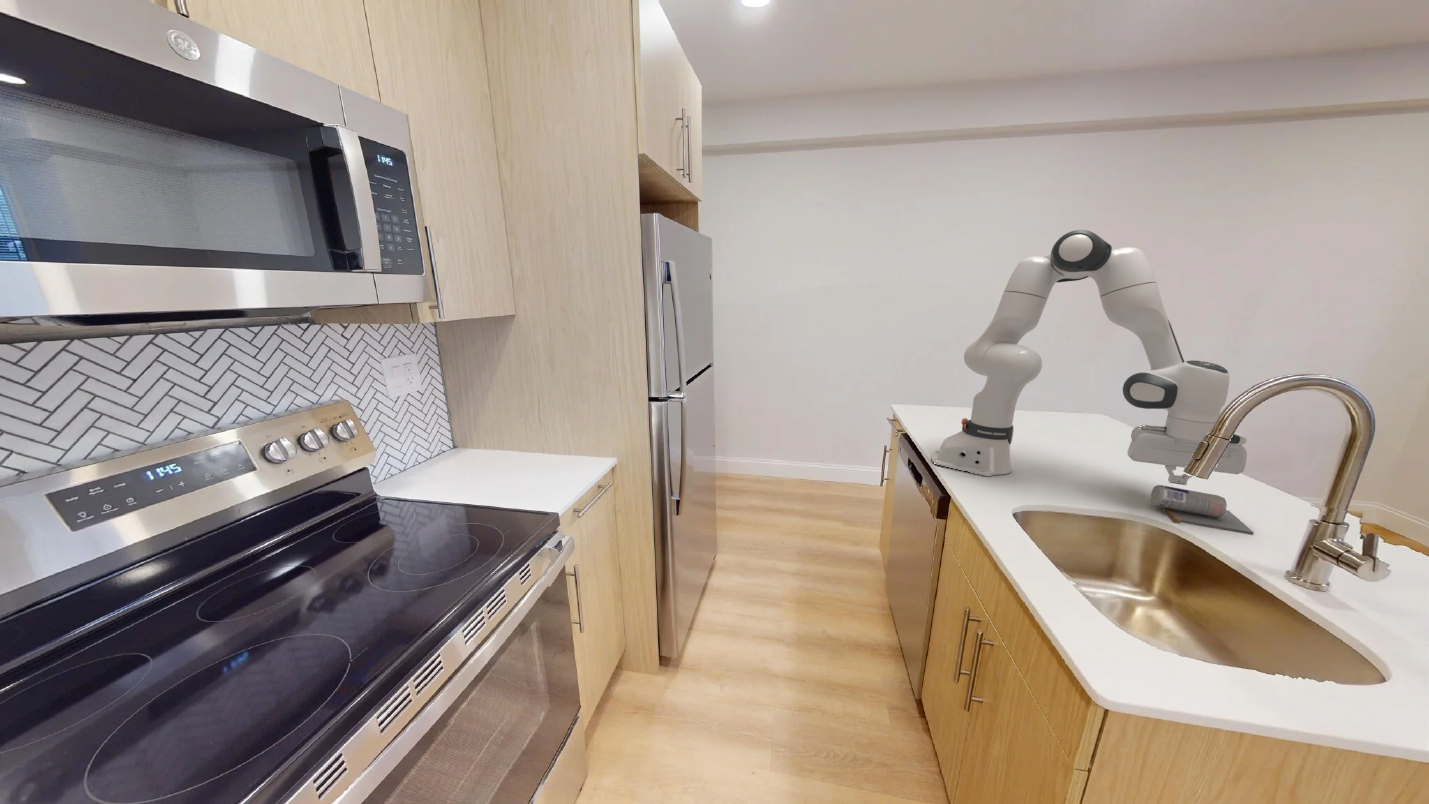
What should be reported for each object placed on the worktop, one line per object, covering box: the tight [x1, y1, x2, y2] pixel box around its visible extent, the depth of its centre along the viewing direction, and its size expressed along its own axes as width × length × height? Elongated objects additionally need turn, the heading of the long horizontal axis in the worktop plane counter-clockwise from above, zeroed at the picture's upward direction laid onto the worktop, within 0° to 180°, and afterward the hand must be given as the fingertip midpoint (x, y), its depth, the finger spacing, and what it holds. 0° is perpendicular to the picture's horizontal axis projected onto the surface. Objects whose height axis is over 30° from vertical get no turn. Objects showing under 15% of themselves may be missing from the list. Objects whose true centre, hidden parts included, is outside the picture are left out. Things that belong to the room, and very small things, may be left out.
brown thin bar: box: [1160, 507, 1182, 524], centre depth 115 cm, size 1×14×1 cm, turn 151°
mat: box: [1172, 509, 1255, 535], centre depth 112 cm, size 12×12×1 cm
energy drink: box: [1150, 484, 1227, 517], centre depth 113 cm, size 5×5×12 cm
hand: (1176, 483), depth 113 cm, fingers closed
